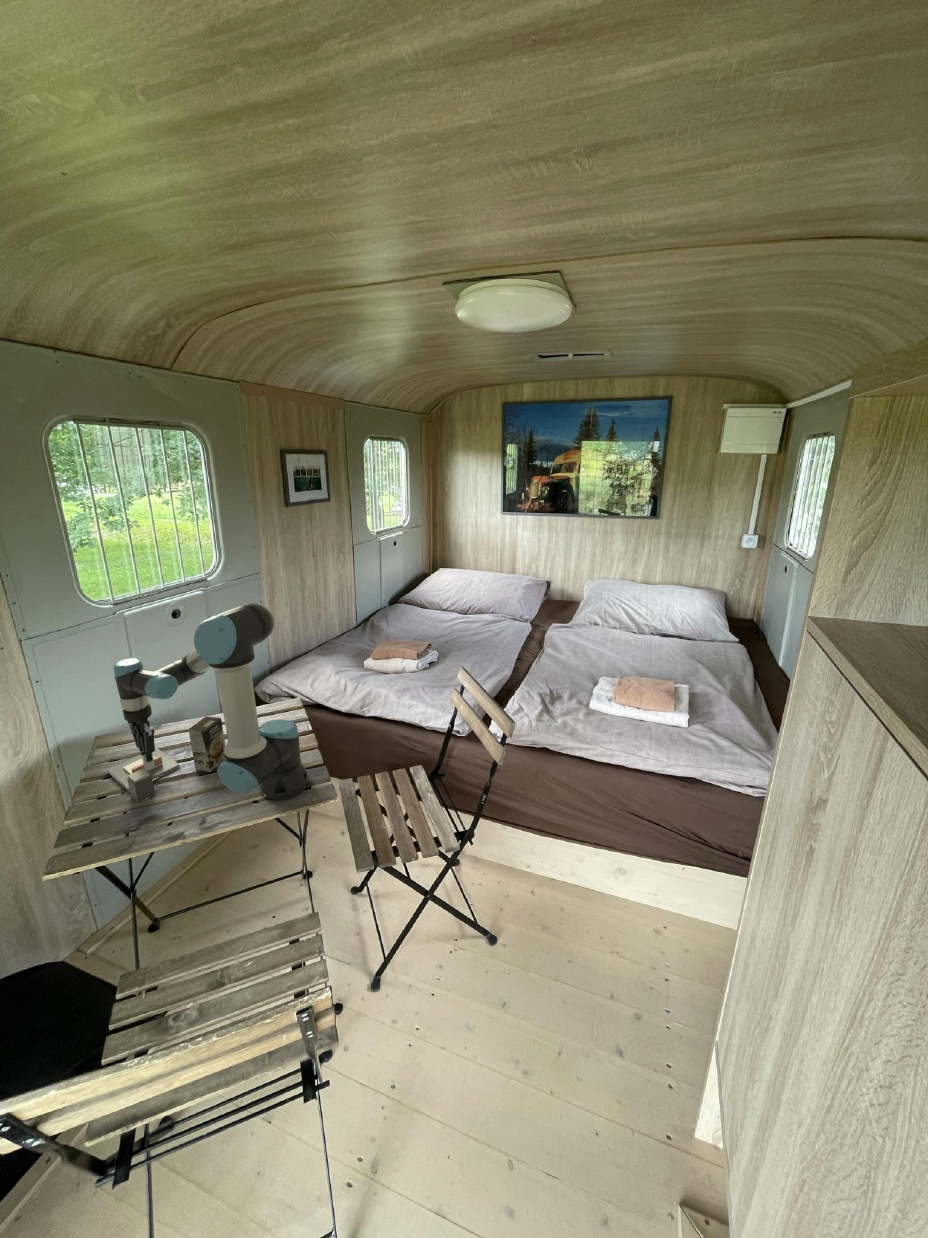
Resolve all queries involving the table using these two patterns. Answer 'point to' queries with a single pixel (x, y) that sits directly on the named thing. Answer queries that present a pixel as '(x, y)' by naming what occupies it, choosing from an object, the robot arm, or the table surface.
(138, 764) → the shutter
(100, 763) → the table surface
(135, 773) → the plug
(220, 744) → the coffee box
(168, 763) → the socket plate
